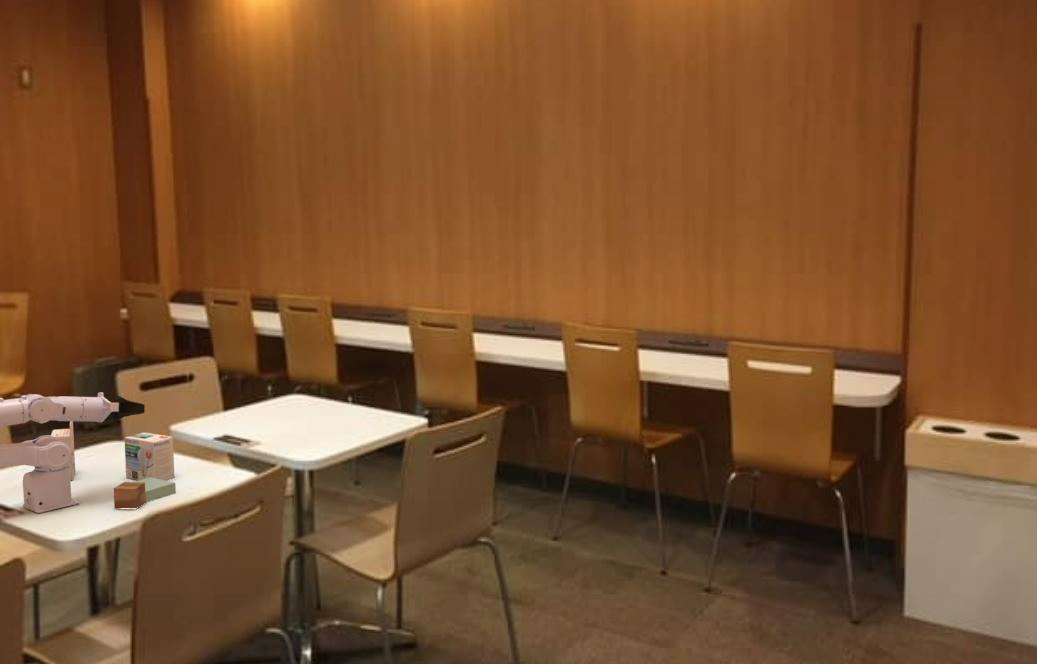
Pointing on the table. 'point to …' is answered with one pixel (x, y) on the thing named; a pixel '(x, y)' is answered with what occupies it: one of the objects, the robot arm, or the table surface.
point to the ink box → (67, 438)
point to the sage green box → (157, 488)
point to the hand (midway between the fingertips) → (137, 410)
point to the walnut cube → (129, 495)
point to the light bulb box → (149, 456)
